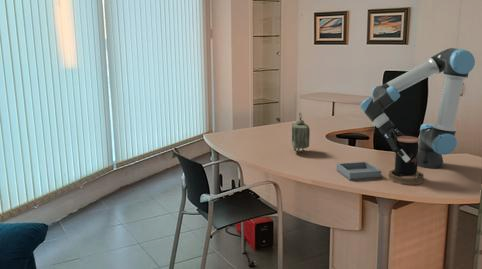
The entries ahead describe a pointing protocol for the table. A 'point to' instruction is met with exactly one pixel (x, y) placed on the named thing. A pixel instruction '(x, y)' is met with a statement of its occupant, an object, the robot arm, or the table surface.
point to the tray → (358, 171)
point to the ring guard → (406, 180)
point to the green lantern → (300, 135)
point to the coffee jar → (411, 149)
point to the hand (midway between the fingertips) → (412, 158)
